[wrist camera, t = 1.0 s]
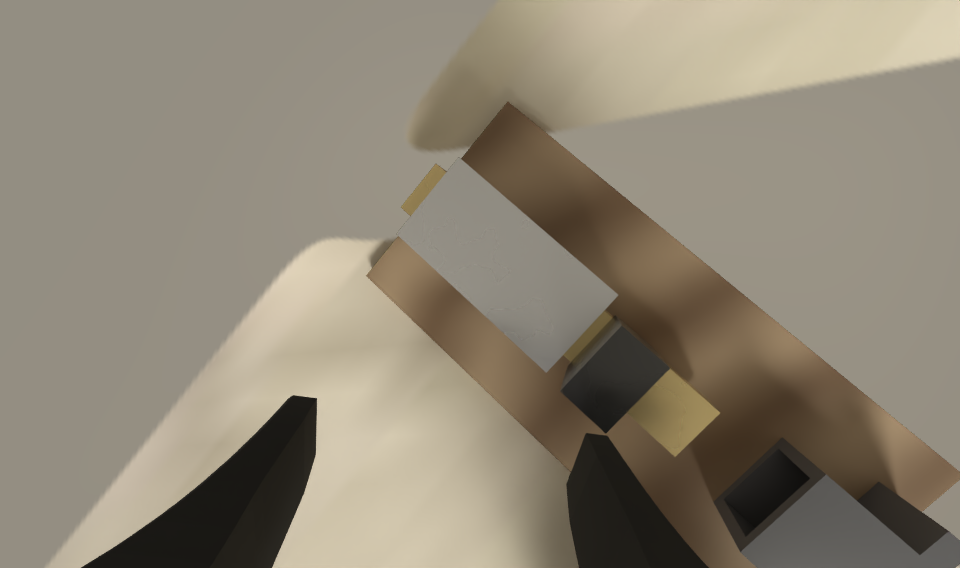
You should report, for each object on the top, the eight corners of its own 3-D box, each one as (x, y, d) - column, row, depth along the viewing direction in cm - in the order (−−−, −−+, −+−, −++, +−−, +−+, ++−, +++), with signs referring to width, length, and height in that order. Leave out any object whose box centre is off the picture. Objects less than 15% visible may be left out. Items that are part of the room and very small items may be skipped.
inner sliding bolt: (709, 394, 22) (766, 451, 15) (663, 440, 23) (695, 517, 16) (454, 172, 25) (395, 127, 18) (417, 217, 26) (345, 192, 18)
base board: (948, 466, 22) (964, 475, 21) (751, 636, 24) (758, 651, 23) (510, 108, 26) (507, 101, 25) (374, 275, 28) (366, 275, 27)
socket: (898, 497, 22) (973, 552, 17) (779, 600, 23) (823, 675, 18) (803, 417, 22) (852, 450, 18) (693, 520, 23) (715, 574, 19)
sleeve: (614, 292, 24) (618, 295, 20) (554, 356, 25) (546, 372, 21) (481, 177, 26) (458, 157, 21) (428, 241, 26) (396, 233, 22)
